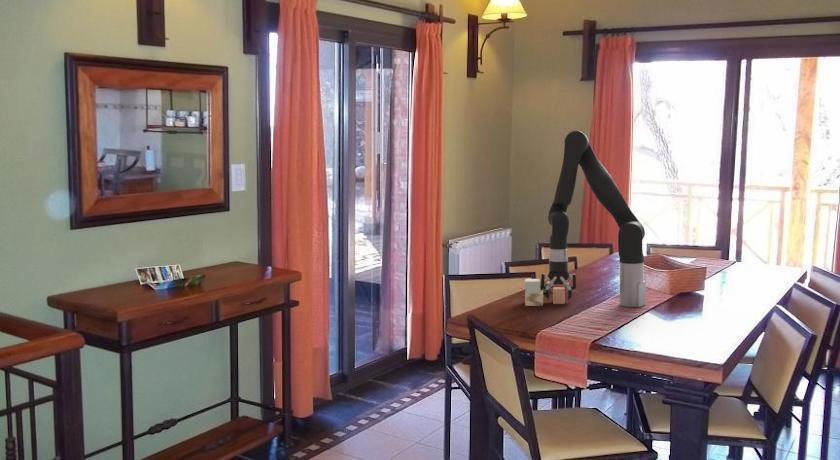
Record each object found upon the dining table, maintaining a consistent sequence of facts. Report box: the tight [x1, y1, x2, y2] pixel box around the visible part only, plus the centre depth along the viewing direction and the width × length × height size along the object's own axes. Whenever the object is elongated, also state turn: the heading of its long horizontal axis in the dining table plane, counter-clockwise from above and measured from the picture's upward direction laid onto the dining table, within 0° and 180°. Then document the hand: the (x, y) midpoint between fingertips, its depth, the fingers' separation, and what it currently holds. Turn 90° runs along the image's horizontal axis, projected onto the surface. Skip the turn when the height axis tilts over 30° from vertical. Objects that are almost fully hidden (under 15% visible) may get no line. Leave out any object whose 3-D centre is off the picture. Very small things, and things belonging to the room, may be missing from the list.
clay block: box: [552, 286, 566, 305], centre depth 319 cm, size 4×4×6 cm
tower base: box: [524, 291, 544, 307], centre depth 318 cm, size 7×7×5 cm
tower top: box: [524, 278, 541, 295], centre depth 317 cm, size 6×6×5 cm
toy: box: [539, 278, 554, 295], centre depth 337 cm, size 7×7×15 cm
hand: (558, 298), depth 319 cm, fingers open, 8 cm apart
